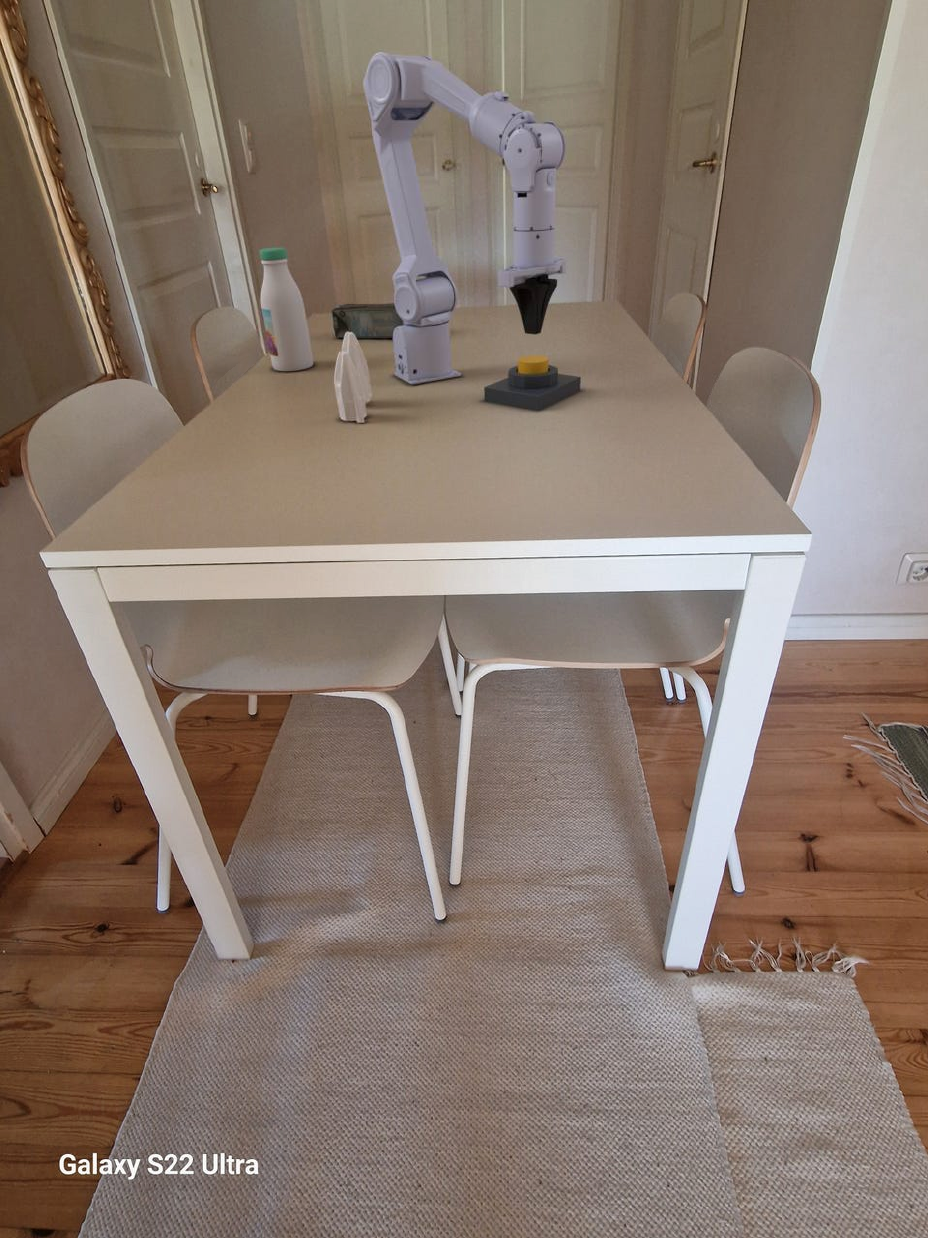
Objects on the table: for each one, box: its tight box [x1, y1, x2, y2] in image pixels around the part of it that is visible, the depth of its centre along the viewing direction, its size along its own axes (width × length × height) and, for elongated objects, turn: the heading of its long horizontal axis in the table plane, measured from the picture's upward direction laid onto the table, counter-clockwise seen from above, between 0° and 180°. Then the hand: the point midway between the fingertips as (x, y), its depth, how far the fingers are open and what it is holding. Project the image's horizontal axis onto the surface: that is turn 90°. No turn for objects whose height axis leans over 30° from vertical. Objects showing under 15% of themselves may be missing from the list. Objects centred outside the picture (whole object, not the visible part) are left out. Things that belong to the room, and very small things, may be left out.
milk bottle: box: [259, 247, 314, 372], centre depth 125 cm, size 8×8×20 cm
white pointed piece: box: [333, 332, 373, 424], centre depth 102 cm, size 12×4×11 cm, turn 179°
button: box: [517, 354, 549, 374], centre depth 105 cm, size 5×5×2 cm
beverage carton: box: [330, 302, 405, 339], centre depth 149 cm, size 8×19×7 cm, turn 74°
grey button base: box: [483, 364, 582, 412], centre depth 106 cm, size 12×10×4 cm
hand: (532, 333), depth 103 cm, fingers closed
